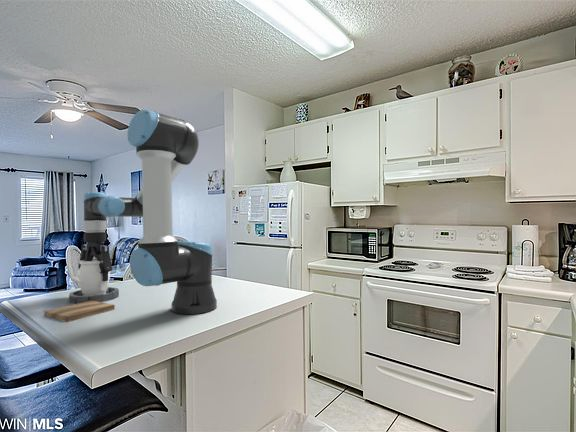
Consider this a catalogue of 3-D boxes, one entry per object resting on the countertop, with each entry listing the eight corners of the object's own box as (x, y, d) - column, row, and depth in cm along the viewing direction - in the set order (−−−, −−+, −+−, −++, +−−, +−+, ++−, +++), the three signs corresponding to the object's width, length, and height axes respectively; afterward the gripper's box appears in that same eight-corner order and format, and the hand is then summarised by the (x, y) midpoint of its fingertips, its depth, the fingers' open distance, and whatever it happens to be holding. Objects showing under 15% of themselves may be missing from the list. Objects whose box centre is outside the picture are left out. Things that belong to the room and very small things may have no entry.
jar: (99, 301, 120) (99, 261, 120) (72, 301, 120) (72, 261, 120) (115, 294, 130) (115, 258, 131) (90, 294, 131) (90, 258, 131)
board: (114, 309, 110) (114, 304, 110) (67, 321, 96) (68, 316, 96) (91, 304, 116) (91, 300, 116) (44, 315, 102) (44, 311, 102)
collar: (127, 295, 129) (127, 289, 129) (86, 305, 114) (86, 298, 114) (101, 291, 136) (101, 285, 136) (59, 300, 122) (59, 293, 122)
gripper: (123, 231, 124) (122, 289, 123) (87, 230, 134) (86, 283, 134) (104, 232, 117) (103, 293, 117) (68, 231, 127) (67, 287, 127)
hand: (94, 288), depth 125 cm, fingers closed on jar, 10 cm apart
